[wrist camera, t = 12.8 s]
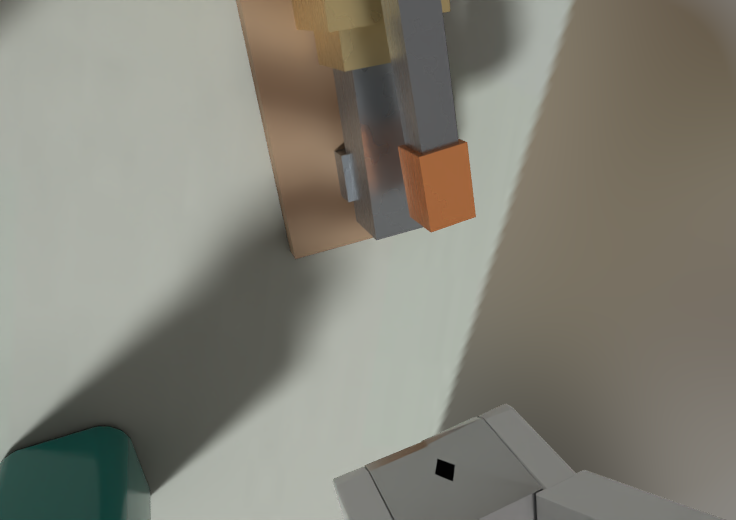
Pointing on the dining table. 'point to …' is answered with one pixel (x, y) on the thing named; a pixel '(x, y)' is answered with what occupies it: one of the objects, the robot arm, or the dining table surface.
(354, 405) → the dining table surface
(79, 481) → the green bottle
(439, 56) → the valve lever
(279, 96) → the base board
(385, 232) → the valve pipe
